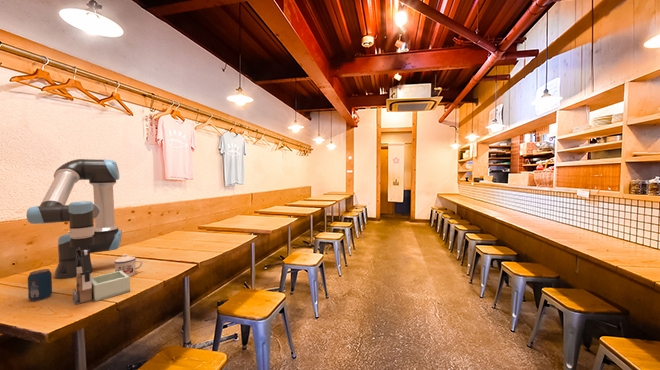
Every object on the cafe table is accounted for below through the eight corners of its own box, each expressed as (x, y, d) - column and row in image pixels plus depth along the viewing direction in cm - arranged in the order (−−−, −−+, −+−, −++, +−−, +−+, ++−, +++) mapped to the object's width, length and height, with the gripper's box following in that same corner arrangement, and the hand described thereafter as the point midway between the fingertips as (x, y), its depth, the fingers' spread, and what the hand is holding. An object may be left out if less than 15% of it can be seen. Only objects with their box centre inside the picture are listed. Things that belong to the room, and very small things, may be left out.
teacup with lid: (114, 280, 130) (113, 258, 130) (114, 275, 137) (114, 254, 137) (143, 274, 138) (142, 253, 138) (142, 270, 145) (141, 250, 145)
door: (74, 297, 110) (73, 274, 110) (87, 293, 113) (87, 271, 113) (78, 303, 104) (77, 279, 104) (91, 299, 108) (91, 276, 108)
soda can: (51, 293, 116) (50, 267, 116) (52, 297, 111) (51, 270, 111) (28, 298, 110) (27, 271, 110) (28, 303, 106) (27, 275, 106)
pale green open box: (88, 293, 115) (88, 278, 115) (121, 284, 125) (121, 270, 125) (95, 301, 107) (94, 285, 107) (130, 291, 116) (129, 276, 116)
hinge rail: (72, 299, 109) (71, 288, 109) (90, 294, 113) (89, 284, 113) (75, 305, 104) (74, 293, 104) (93, 299, 109) (93, 288, 108)
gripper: (65, 234, 113) (67, 280, 114) (74, 243, 98) (76, 296, 99) (88, 231, 119) (90, 275, 120) (100, 239, 104) (102, 289, 105)
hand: (84, 284), depth 109 cm, fingers open, 13 cm apart
